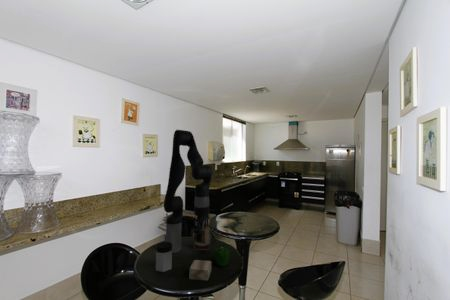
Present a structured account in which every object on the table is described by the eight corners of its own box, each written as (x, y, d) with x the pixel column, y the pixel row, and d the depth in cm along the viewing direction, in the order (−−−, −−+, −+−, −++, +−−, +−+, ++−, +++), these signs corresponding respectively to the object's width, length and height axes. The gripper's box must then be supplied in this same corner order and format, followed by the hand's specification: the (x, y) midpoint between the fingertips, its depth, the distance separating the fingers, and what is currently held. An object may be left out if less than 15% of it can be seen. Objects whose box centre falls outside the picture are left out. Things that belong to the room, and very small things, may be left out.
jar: (151, 270, 110) (152, 246, 111) (161, 262, 118) (161, 240, 118) (166, 273, 108) (167, 249, 108) (175, 265, 116) (175, 242, 116)
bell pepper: (218, 259, 123) (218, 241, 123) (231, 262, 120) (231, 244, 120) (211, 266, 115) (211, 247, 115) (225, 269, 112) (226, 250, 112)
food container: (212, 246, 140) (213, 230, 141) (211, 250, 134) (211, 234, 134) (194, 245, 142) (194, 229, 142) (192, 249, 135) (192, 233, 136)
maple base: (189, 279, 103) (189, 268, 103) (194, 269, 112) (194, 259, 112) (207, 281, 102) (207, 270, 102) (211, 270, 111) (211, 261, 111)
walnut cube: (193, 241, 105) (193, 229, 106) (198, 237, 111) (198, 225, 111) (205, 243, 104) (205, 231, 104) (209, 238, 110) (209, 227, 110)
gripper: (200, 201, 116) (200, 233, 115) (188, 207, 102) (188, 243, 102) (213, 202, 114) (213, 234, 113) (203, 209, 100) (203, 245, 100)
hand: (201, 238), depth 108 cm, fingers closed on walnut cube, 6 cm apart
